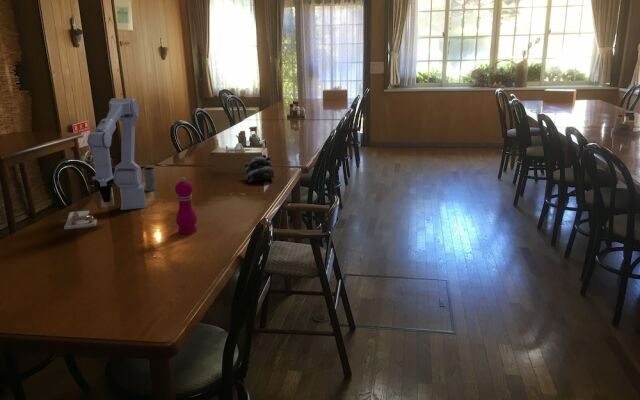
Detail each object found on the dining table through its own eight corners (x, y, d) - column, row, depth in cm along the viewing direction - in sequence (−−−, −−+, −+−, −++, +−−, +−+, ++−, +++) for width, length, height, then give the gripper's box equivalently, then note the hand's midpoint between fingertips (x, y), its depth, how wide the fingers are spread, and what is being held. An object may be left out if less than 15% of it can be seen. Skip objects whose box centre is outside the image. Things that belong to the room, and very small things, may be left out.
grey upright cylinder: (153, 191, 233) (151, 169, 230) (144, 191, 233) (141, 169, 230) (158, 189, 237) (156, 167, 234) (149, 188, 238) (147, 167, 235)
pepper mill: (201, 229, 184) (197, 175, 178) (190, 236, 178) (186, 180, 172) (184, 227, 187) (179, 174, 181) (173, 233, 180) (167, 179, 174)
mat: (89, 211, 205) (89, 210, 205) (87, 216, 199) (87, 215, 199) (70, 213, 203) (70, 212, 203) (67, 218, 197) (67, 217, 197)
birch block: (114, 203, 193) (111, 185, 191) (113, 206, 189) (111, 188, 187) (102, 204, 192) (100, 186, 190) (102, 207, 188) (99, 189, 186)
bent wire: (96, 215, 197) (95, 209, 197) (93, 222, 190) (93, 216, 189) (74, 218, 195) (73, 211, 194) (71, 224, 188) (70, 218, 187)
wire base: (98, 217, 198) (97, 215, 198) (95, 226, 188) (95, 224, 188) (68, 220, 195) (68, 218, 195) (64, 229, 185) (63, 227, 185)
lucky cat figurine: (241, 183, 244) (237, 156, 247) (252, 187, 256) (248, 161, 258) (270, 176, 240) (265, 148, 243) (279, 180, 252) (275, 153, 254)
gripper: (92, 161, 191) (97, 195, 195) (88, 169, 178) (94, 206, 182) (112, 159, 194) (117, 194, 197) (110, 168, 180) (115, 204, 184)
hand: (107, 200), depth 190 cm, fingers closed on birch block, 4 cm apart
